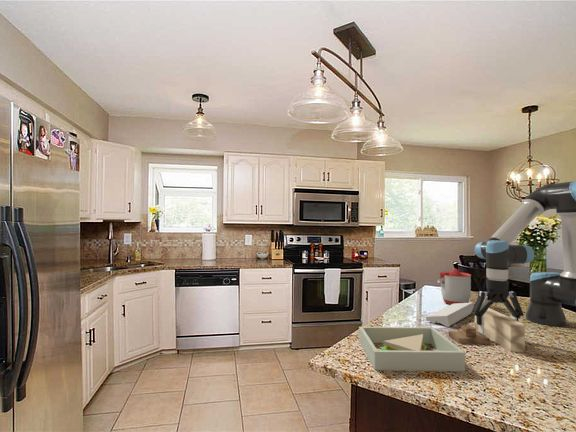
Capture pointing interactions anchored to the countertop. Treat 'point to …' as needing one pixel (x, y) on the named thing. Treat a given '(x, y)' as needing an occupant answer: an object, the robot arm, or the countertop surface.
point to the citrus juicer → (455, 286)
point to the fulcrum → (469, 336)
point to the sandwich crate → (440, 360)
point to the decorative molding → (451, 313)
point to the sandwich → (405, 344)
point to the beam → (504, 330)
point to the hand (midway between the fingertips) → (497, 333)
